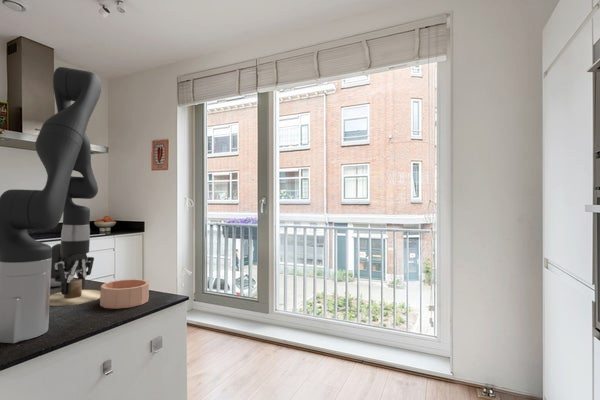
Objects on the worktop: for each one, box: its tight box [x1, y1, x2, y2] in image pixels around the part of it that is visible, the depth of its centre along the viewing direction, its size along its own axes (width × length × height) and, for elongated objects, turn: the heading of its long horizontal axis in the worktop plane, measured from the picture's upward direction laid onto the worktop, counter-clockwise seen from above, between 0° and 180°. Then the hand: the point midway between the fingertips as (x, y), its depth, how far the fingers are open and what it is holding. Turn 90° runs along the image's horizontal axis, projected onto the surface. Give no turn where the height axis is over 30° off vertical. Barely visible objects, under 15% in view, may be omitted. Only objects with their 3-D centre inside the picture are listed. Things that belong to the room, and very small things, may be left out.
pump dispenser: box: [50, 243, 76, 288], centre depth 115 cm, size 10×10×15 cm
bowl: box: [99, 278, 150, 310], centre depth 98 cm, size 13×13×6 cm
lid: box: [49, 278, 101, 307], centre depth 100 cm, size 16×16×6 cm
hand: (73, 291), depth 100 cm, fingers open, 5 cm apart
